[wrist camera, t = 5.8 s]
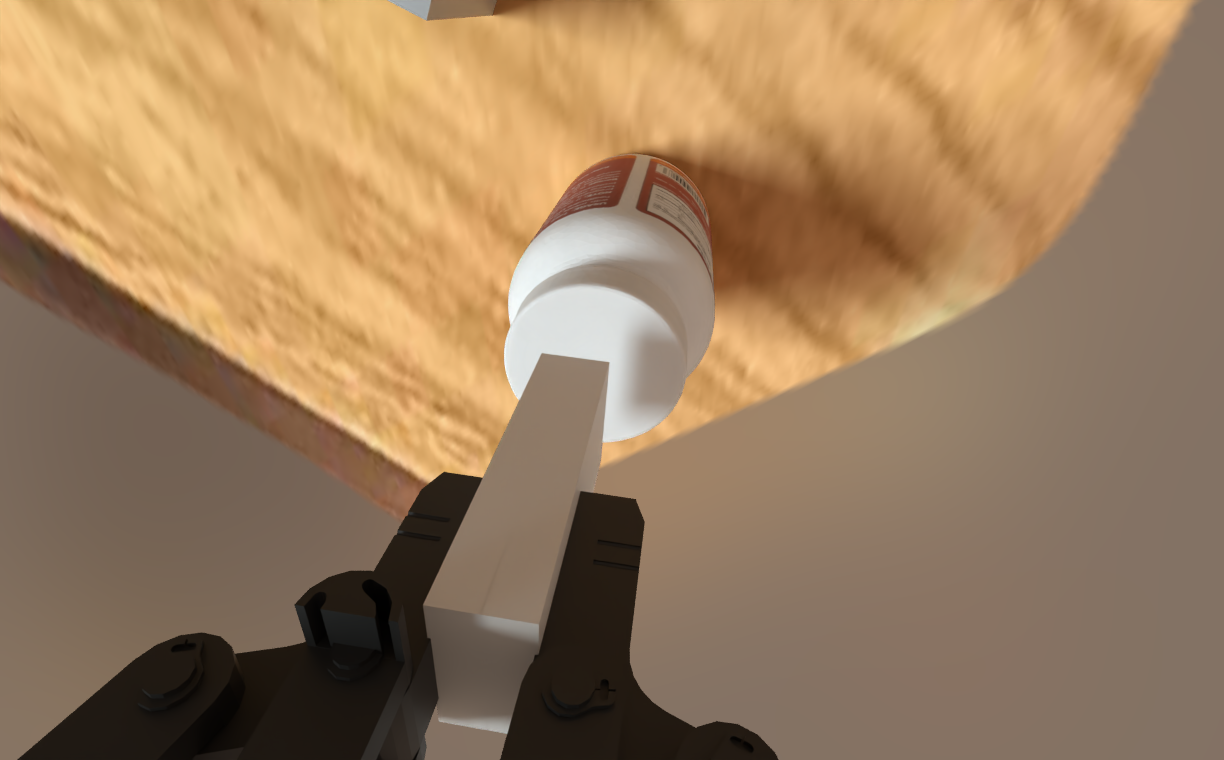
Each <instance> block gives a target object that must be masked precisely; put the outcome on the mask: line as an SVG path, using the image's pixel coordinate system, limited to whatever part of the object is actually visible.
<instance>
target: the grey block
mask: <svg viewBox="0 0 1224 760" xmlns="http://www.w3.org/2000/svg"><path fill="white" fill-rule="evenodd" d="M388 1H390V2H392V3H394V4H396V5H397V6H399V7H401V8H403V9H405V10H407V11H409V12H411V13H413V14H415V15H417V16H419V17H421V18H423V19H425V20H426V21H427V20H439V19H452V18H465V17H477V16H490V15H493V12H494V9H495V5H496V2H497V0H388Z"/></svg>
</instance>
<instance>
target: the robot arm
mask: <svg viewBox="0 0 1224 760" xmlns="http://www.w3.org/2000/svg"><path fill="white" fill-rule="evenodd" d="M609 363H610V362H604V361H597V360H590V359H582V358H575V357H568V356H560V355H553V354H545V353H541V356H540V358H539V360H538V362H537V364H536V366H535V368H534V370H533V373H532V375H531V377H530V379H529V381H528V383H527V385H526V387H525V389H524V392H523V394H522V396H521V398H520V400H519V402H518V404H517V406H516V409H515V411H514V413H513V415H512V417H511V419H510V421H509V423H508V426H507V428H506V430H505V432H504V434H503V436H502V438H501V440H500V443H499V445H498V447H497V449H496V451H495V453H494V455H493V457H492V460H491V462H490V464H489V466H488V468H487V470H486V472H485V474H484V477H483V478H480V477H474V476H467V475H460V474H454V473H447V472H443V473H442V474H441V475H439V476H438V477H437V478H436V479H434V480H433V481H432V482H430V483H429V484H428V485H427V486H425V487H424V488H423V489H422V490H421V491H420V493H419V495H418V496H417V498H416V500H415V502H414V503H413V505H412V507H411V508H410V510H409V512H408V516H406V517H405V519H404V520H403V522H402V524H401V525H400V527H399V529H398V533H397V535H395V536H394V537H393V539H392V541H391V543H390V544H389V546H388V548H387V549H386V551H385V553H384V554H383V556H382V558H381V560H380V561H379V563H378V565H377V566H376V568H375V570H374V571H348V572H345V573H341V574H338V575H335V576H331V577H328V578H327V579H325V580H323V581H322V582H320V583H318V584H317V585H315V586H313V587H312V588H310V589H309V590H308V591H307V592H306V593H305V594H304V595H303V596H302V597H301V598H300V599H299V600H298V602H297V603H296V604H295V608H296V611H297V614H298V617H299V620H300V624H301V627H302V630H303V633H304V636H305V640H306V642H304V643H300V644H296V645H292V646H287V647H282V648H275V649H267V650H260V651H253V652H245V653H238V654H235V653H234V651H233V649H232V647H231V646H230V645H229V644H228V643H227V642H226V641H225V640H224V639H223V638H221V637H220V636H216V635H211V634H207V633H195V634H187V635H180V636H178V637H175V638H173V639H170V640H168V641H165V642H163V643H160V644H158V645H156V646H154V647H153V648H151V649H150V650H148V651H147V652H145V653H144V654H142V655H141V656H140V657H138V658H136V659H135V660H134V661H132V662H131V663H130V664H129V665H128V666H127V667H125V668H124V669H123V670H122V671H121V672H120V673H118V674H117V675H116V676H115V677H114V678H113V679H111V680H110V681H109V682H108V683H107V684H105V685H104V686H103V687H102V688H101V689H100V690H98V691H97V692H96V693H95V694H94V695H93V696H91V697H90V698H89V699H88V700H87V701H86V702H84V703H83V704H82V705H81V706H80V707H79V708H77V709H76V710H75V711H74V712H73V713H71V714H70V715H69V716H68V717H67V718H66V719H64V720H63V721H62V722H61V723H60V724H59V725H58V726H56V727H55V728H54V729H53V730H52V731H50V732H49V733H48V734H47V735H46V736H45V737H43V738H42V739H41V740H40V741H39V742H38V743H36V744H35V745H34V746H33V747H32V748H31V749H29V750H28V751H27V752H26V753H25V754H24V755H22V756H21V757H20V758H19V759H18V760H424V758H425V752H426V741H425V732H426V730H427V727H428V725H429V722H430V720H431V717H432V714H433V712H434V709H435V706H436V704H437V710H438V717H439V721H440V722H445V723H451V724H456V725H462V726H467V727H473V728H478V729H484V730H490V731H496V732H501V733H506V734H507V737H506V740H505V744H504V748H503V751H502V755H501V759H500V760H778V758H777V756H776V754H775V752H774V751H773V750H772V749H771V748H770V747H769V746H768V745H767V744H766V743H765V742H764V741H763V740H762V739H761V738H760V737H759V736H758V735H757V734H755V733H753V732H751V731H749V730H748V729H745V728H744V727H742V726H740V725H738V724H732V723H724V722H718V721H716V722H713V723H709V724H706V725H703V726H699V727H697V728H695V727H693V726H691V725H689V724H688V723H686V722H684V721H682V720H680V719H679V718H677V717H675V716H673V715H671V714H669V713H668V712H666V711H664V710H663V709H661V708H660V707H659V706H657V705H656V704H654V703H653V702H652V701H651V700H650V699H649V698H648V697H647V696H646V695H645V694H644V693H643V691H642V690H641V689H640V687H639V685H638V683H637V681H636V680H635V678H634V676H633V672H632V668H631V665H630V649H629V648H630V641H631V631H632V623H633V615H634V607H635V599H636V590H637V582H638V573H639V565H640V556H641V548H642V540H643V531H644V519H643V517H642V514H641V512H640V509H639V507H638V504H637V502H636V499H631V498H624V497H618V496H611V495H604V494H598V493H593V492H594V487H595V483H596V479H597V474H598V470H599V466H600V461H601V453H602V442H603V431H604V420H605V408H606V397H607V386H608V375H609Z"/></svg>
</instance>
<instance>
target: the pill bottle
mask: <svg viewBox="0 0 1224 760" xmlns="http://www.w3.org/2000/svg"><path fill="white" fill-rule="evenodd" d="M508 311H509V319H510V324H511V326H510V329H509V332H508V335H507V338H506V342H505V349H504V363H505V370H506V374H507V377H508V380H509V383H510V386H511V388H512V390H513V392H514V394H515V395H516V397H517V398H518V400H520V398H521V396H522V394H523V392H524V389H525V387H526V385H527V383H528V381H529V379H530V377H531V375H532V373H533V370H534V368H535V366H536V364H537V362H538V360H539V358H540V356H541V353H545V354H553V355H560V356H568V357H575V358H582V359H590V360H597V361H604V362H610V363H609V375H608V386H607V397H606V408H605V420H604V431H603V442H615V441H621V440H625V439H629V438H633V437H636V436H638V435H641V434H643V433H646V432H647V431H649V430H651V429H652V428H654V427H655V426H657V425H658V424H659V423H661V422H662V421H663V420H664V419H665V418H666V417H667V416H668V415H669V414H670V413H671V411H672V410H673V409H674V407H675V406H676V404H677V402H678V400H679V398H680V396H681V394H682V391H683V388H684V384H685V380H686V378H687V377H688V376H689V375H690V374H691V373H692V372H693V371H694V369H695V368H696V367H697V366H698V364H699V363H700V361H701V360H702V358H703V356H704V354H705V352H706V350H707V348H708V345H709V343H710V340H711V336H712V332H713V328H714V320H715V297H714V282H713V260H712V237H711V224H710V218H709V213H708V210H707V207H706V204H705V201H704V199H703V197H702V195H701V193H700V191H699V190H698V188H697V187H696V186H695V184H694V183H693V182H692V181H691V179H690V178H689V177H688V176H687V175H686V174H685V173H683V172H682V171H681V170H680V169H678V168H677V167H675V166H674V165H672V164H670V163H669V162H667V161H664V160H662V159H659V158H656V157H653V156H649V155H642V154H624V155H618V156H614V157H610V158H607V159H605V160H602V161H600V162H598V163H596V164H594V165H592V166H590V167H589V168H588V169H586V170H585V171H584V172H582V173H581V174H580V175H579V176H578V177H577V178H576V179H575V180H574V181H573V182H572V183H571V184H570V186H569V187H568V188H567V190H566V191H565V193H564V194H563V196H562V197H561V199H560V200H559V202H558V203H557V205H556V206H555V208H554V209H553V211H552V212H551V214H550V215H549V217H548V218H547V220H546V221H545V222H544V224H543V225H542V227H541V228H540V230H539V231H538V233H537V234H536V236H535V237H534V238H533V240H532V241H531V243H530V244H529V246H528V247H527V249H526V250H525V252H524V254H523V256H522V257H521V259H520V261H519V263H518V265H517V267H516V269H515V272H514V275H513V278H512V281H511V285H510V290H509V298H508Z"/></svg>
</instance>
